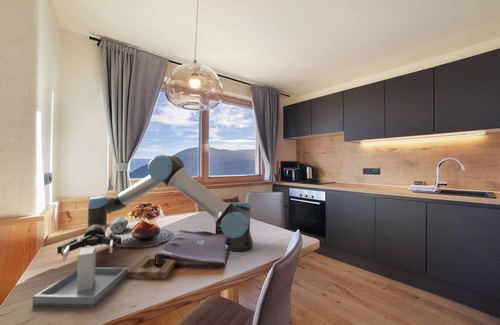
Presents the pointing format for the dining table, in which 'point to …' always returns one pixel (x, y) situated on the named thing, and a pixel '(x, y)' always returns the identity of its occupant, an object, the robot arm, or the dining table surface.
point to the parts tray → (67, 294)
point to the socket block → (150, 269)
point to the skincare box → (86, 269)
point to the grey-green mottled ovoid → (118, 225)
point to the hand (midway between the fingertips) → (88, 252)
